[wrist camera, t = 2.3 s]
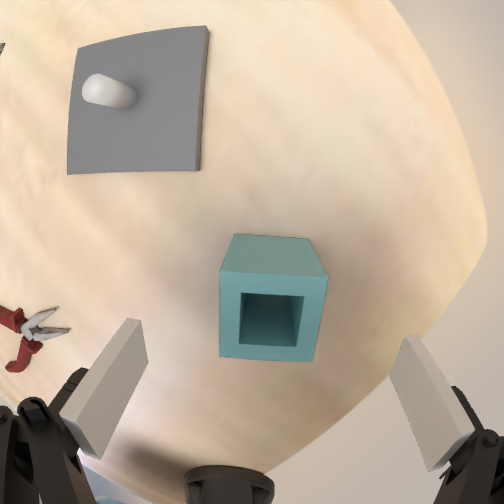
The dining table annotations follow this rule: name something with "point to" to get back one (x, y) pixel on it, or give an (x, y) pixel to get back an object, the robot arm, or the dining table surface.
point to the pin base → (138, 103)
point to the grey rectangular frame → (1, 47)
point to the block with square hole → (270, 299)
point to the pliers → (27, 335)
